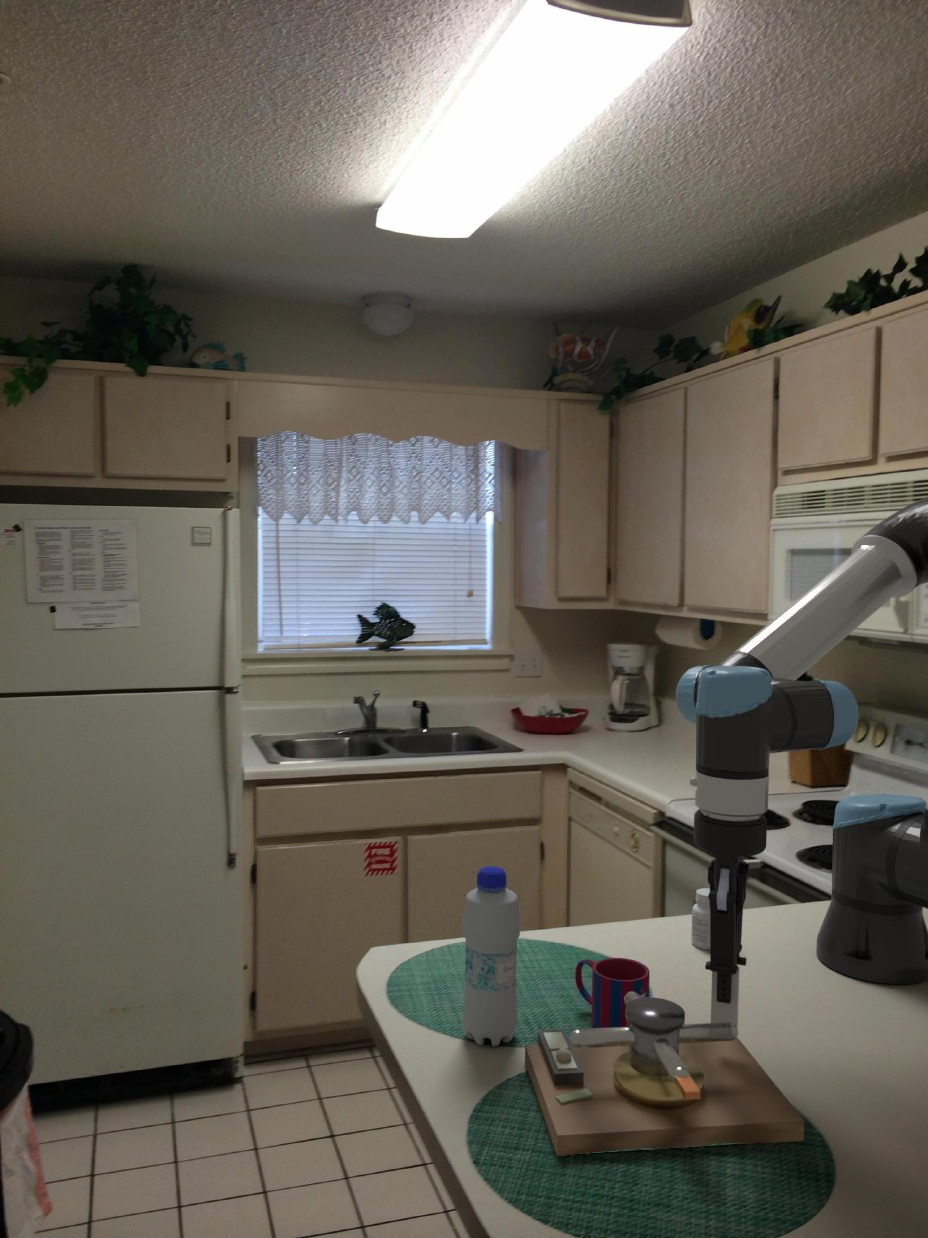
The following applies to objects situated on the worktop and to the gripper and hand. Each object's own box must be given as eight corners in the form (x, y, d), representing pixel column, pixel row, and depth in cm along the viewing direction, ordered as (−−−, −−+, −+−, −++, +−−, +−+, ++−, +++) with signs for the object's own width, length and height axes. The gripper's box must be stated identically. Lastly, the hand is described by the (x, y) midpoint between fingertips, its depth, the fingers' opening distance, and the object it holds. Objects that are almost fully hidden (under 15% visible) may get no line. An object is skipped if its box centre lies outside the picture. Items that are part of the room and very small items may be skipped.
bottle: (500, 1057, 109) (503, 880, 108) (449, 1041, 112) (451, 869, 111) (529, 1033, 115) (531, 864, 113) (480, 1018, 118) (482, 855, 117)
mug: (620, 1044, 112) (621, 986, 112) (560, 1011, 120) (561, 957, 120) (660, 1028, 116) (661, 971, 116) (600, 997, 124) (601, 944, 124)
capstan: (705, 1029, 111) (707, 970, 111) (784, 1134, 91) (786, 1063, 90) (551, 1036, 109) (552, 977, 109) (596, 1146, 89) (598, 1073, 88)
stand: (732, 1049, 111) (734, 1011, 111) (803, 1141, 94) (805, 1096, 94) (524, 1060, 108) (524, 1021, 108) (557, 1156, 91) (557, 1110, 91)
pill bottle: (715, 938, 144) (717, 886, 143) (727, 950, 139) (729, 896, 139) (686, 939, 143) (688, 887, 143) (698, 951, 139) (699, 898, 138)
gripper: (703, 794, 112) (697, 995, 114) (685, 823, 100) (679, 1047, 102) (771, 801, 109) (765, 1007, 111) (761, 831, 97) (754, 1062, 99)
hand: (724, 1026), depth 106 cm, fingers closed
